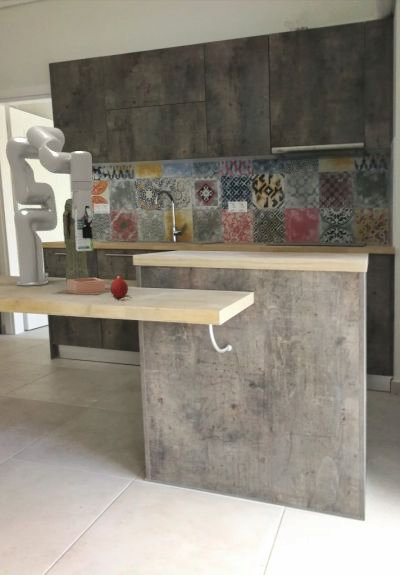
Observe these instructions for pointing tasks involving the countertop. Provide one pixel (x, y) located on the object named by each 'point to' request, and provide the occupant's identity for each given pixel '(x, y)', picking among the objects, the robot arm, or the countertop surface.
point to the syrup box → (81, 242)
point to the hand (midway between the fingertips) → (84, 237)
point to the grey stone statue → (73, 247)
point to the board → (82, 293)
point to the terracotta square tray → (85, 285)
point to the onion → (119, 288)
